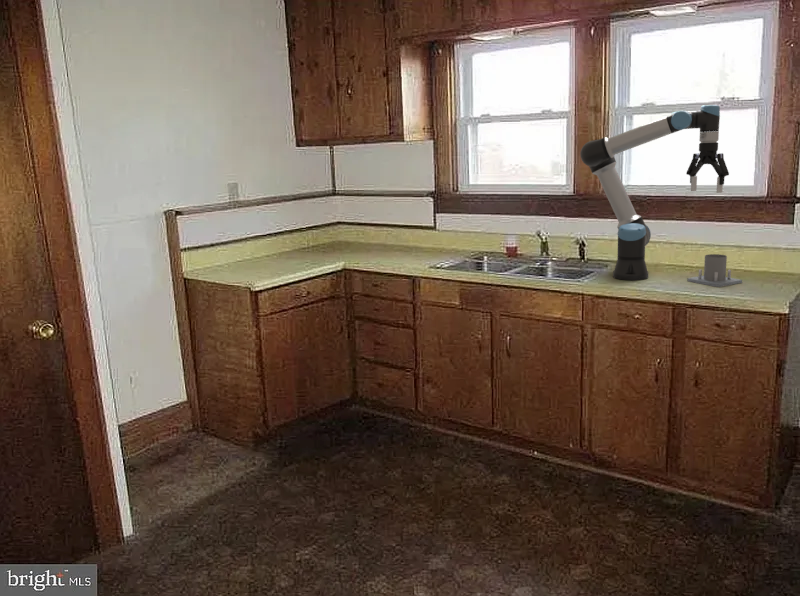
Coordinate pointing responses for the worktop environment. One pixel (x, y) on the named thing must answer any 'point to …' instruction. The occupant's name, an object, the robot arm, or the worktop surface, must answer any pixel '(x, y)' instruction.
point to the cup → (715, 267)
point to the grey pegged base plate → (715, 280)
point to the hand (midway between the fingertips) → (706, 191)
